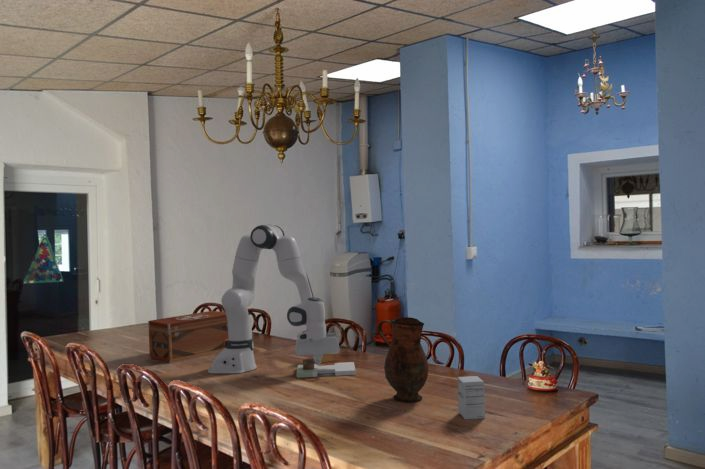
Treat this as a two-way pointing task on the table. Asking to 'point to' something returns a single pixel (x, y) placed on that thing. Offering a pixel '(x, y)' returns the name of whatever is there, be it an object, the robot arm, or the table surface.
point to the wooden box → (187, 336)
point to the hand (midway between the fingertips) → (317, 364)
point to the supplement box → (471, 397)
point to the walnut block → (308, 364)
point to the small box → (325, 357)
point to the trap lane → (327, 370)
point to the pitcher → (405, 358)
